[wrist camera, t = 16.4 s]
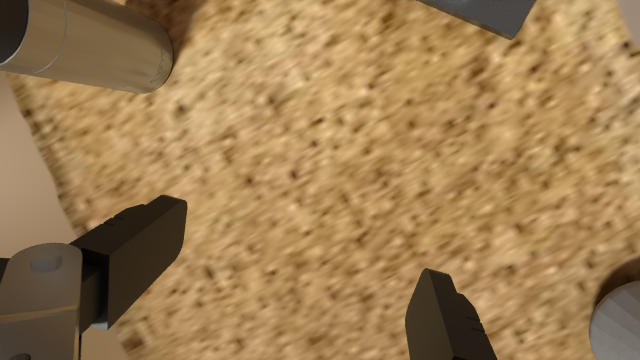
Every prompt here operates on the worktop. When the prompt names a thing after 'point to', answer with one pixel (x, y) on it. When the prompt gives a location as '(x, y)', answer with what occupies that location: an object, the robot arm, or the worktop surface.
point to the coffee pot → (617, 324)
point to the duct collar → (487, 13)
